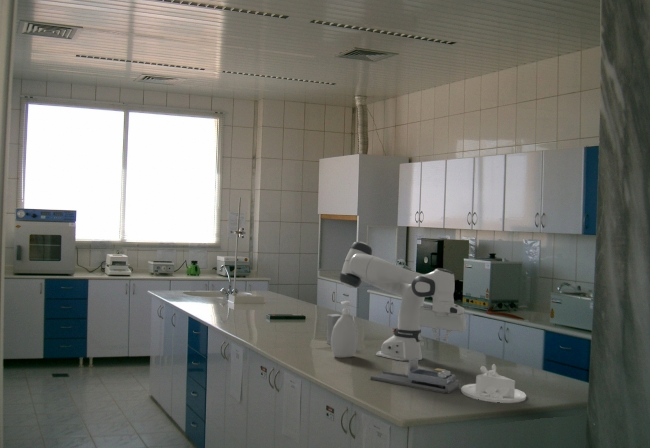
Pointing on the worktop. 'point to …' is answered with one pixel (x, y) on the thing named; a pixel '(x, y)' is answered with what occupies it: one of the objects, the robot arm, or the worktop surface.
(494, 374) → the dish
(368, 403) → the worktop surface
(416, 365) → the long grey tray
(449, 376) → the steel puck
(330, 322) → the skincare box
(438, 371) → the wooden block
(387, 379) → the track
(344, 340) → the soap bottle
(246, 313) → the worktop surface
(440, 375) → the steel puck
